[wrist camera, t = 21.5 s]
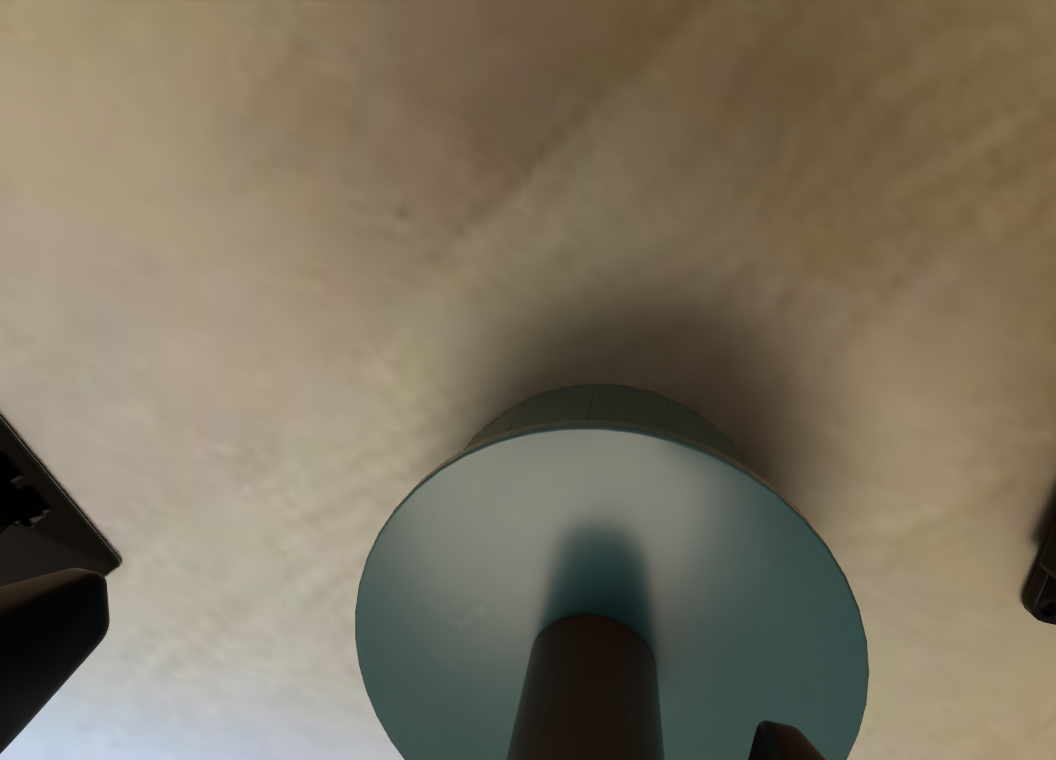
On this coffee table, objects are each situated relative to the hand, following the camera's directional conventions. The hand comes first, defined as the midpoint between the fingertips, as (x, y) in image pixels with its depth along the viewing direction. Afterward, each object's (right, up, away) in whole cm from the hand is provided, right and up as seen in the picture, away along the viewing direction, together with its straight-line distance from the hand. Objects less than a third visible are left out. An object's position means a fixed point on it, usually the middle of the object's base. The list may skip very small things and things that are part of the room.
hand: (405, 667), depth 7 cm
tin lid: (+3, -3, +7) cm, 9 cm away
